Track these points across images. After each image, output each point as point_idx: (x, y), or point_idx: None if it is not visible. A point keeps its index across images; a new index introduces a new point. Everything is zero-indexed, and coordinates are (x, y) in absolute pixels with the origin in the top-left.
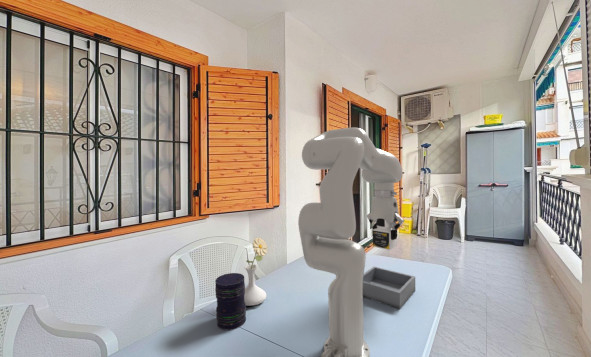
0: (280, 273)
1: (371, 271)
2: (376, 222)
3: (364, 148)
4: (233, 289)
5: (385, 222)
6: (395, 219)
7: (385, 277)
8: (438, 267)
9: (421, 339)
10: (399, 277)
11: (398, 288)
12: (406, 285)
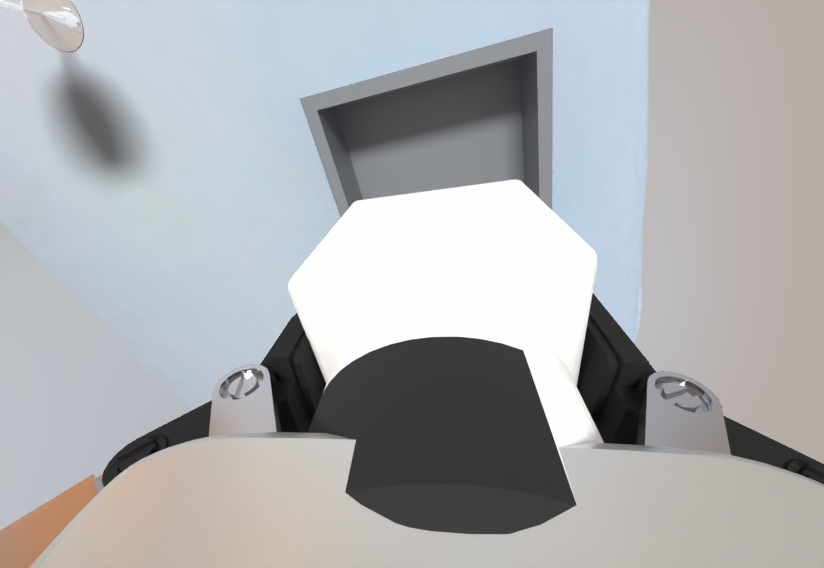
0: (130, 334)
1: (335, 160)
2: (250, 425)
3: None
4: None
5: None
6: (782, 561)
7: (383, 94)
8: None
9: (626, 319)
10: (459, 73)
11: (470, 117)
12: (550, 188)
